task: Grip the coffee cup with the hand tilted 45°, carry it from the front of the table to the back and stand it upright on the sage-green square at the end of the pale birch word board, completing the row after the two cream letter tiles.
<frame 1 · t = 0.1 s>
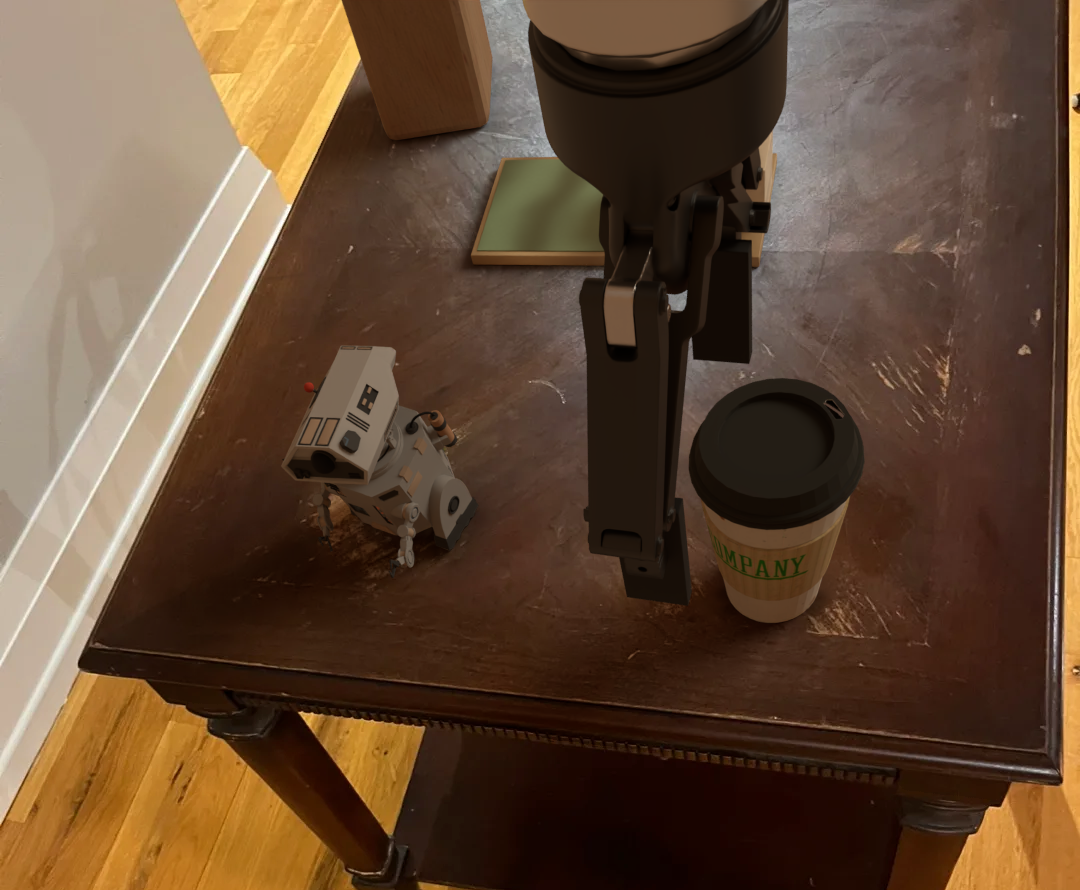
hand: (692, 469, 50), 24 cm above the table, tool pointing down, fingers open, 13 cm apart
word board: (624, 214, 92), on the table
coffee cup: (772, 585, 74), on the table
wooden block: (442, 105, 103), on the table
figurine: (403, 537, 81), on the table
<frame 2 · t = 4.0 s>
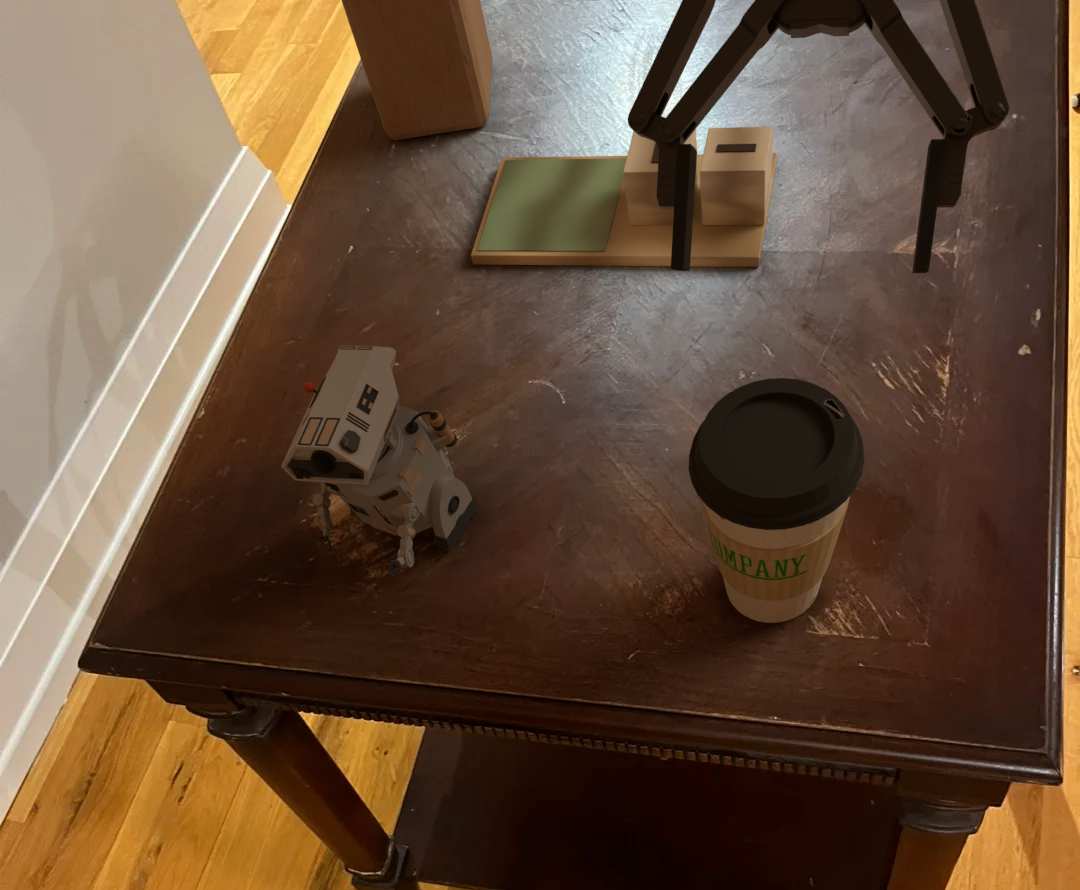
hand: (797, 272, 63), 17 cm above the table, tool tilted 45°, fingers open, 13 cm apart
nothing on the table moved.
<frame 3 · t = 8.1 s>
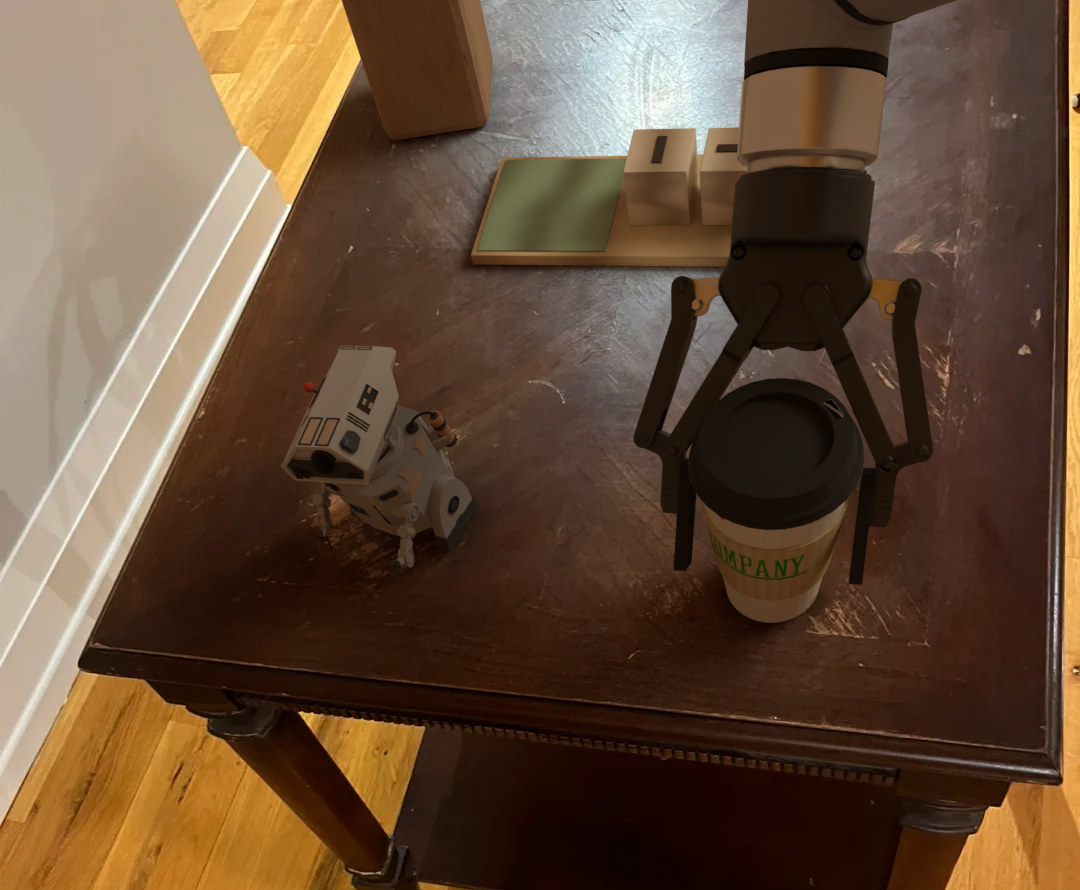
hand: (767, 572, 67), 6 cm above the table, tool tilted 45°, fingers closed on coffee cup, 10 cm apart
coffee cup: (772, 585, 74), on the table, touching gripper
everything else where it was.
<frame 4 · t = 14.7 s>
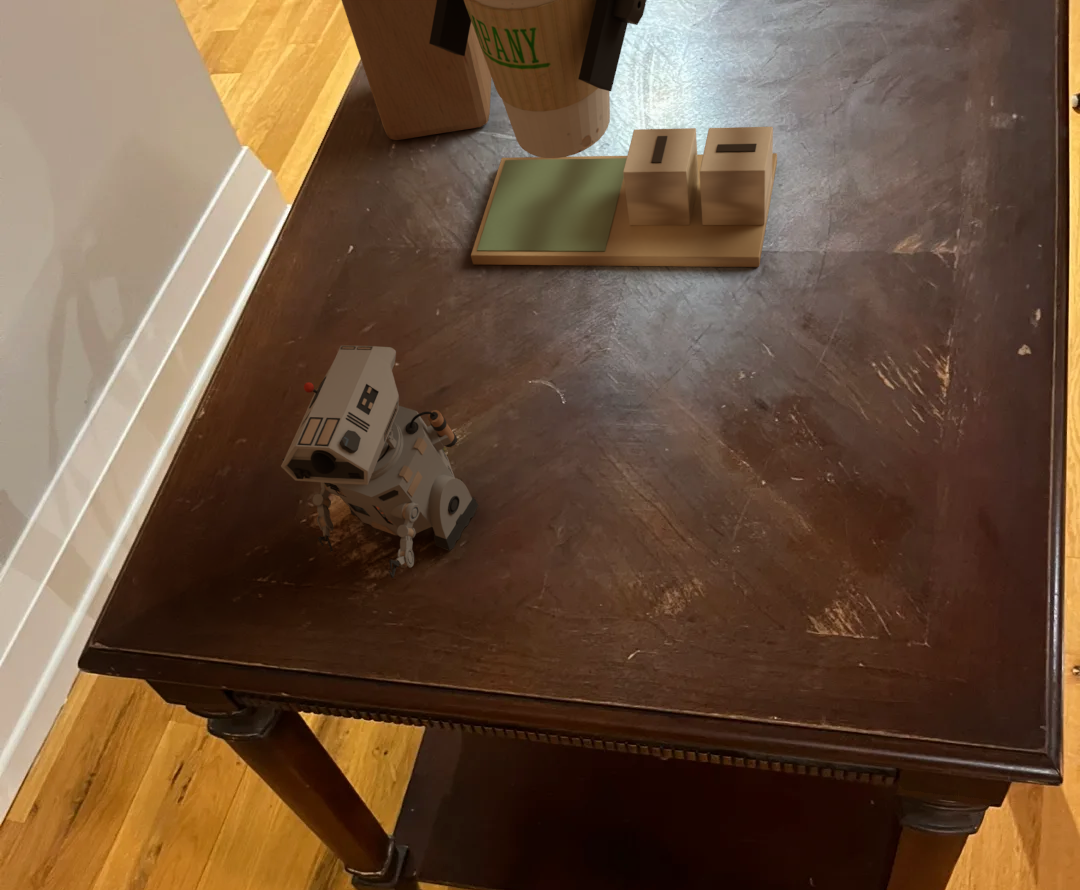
hand: (518, 67, 64), 24 cm above the table, tool tilted 45°, fingers closed on coffee cup, 10 cm apart
coffee cup: (562, 127, 70), point 18 cm above the table, touching gripper
everything else where it was.
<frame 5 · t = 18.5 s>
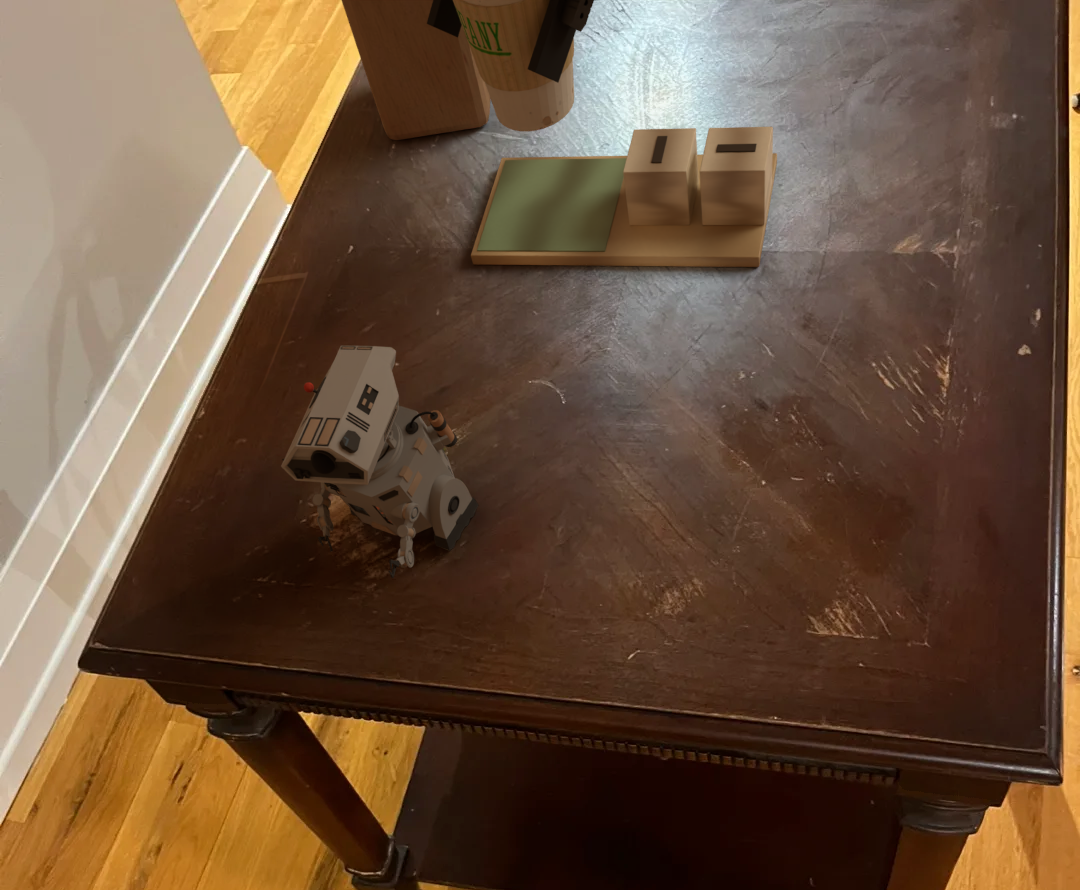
hand: (491, 52, 79), 16 cm above the table, tool tilted 45°, fingers closed on coffee cup, 10 cm apart
coffee cup: (535, 106, 85), point 10 cm above the table, touching gripper
everything else where it was.
when the fingers open (7 cm above the table, at t = 21.5 s): coffee cup stays where it is, resting on word board.
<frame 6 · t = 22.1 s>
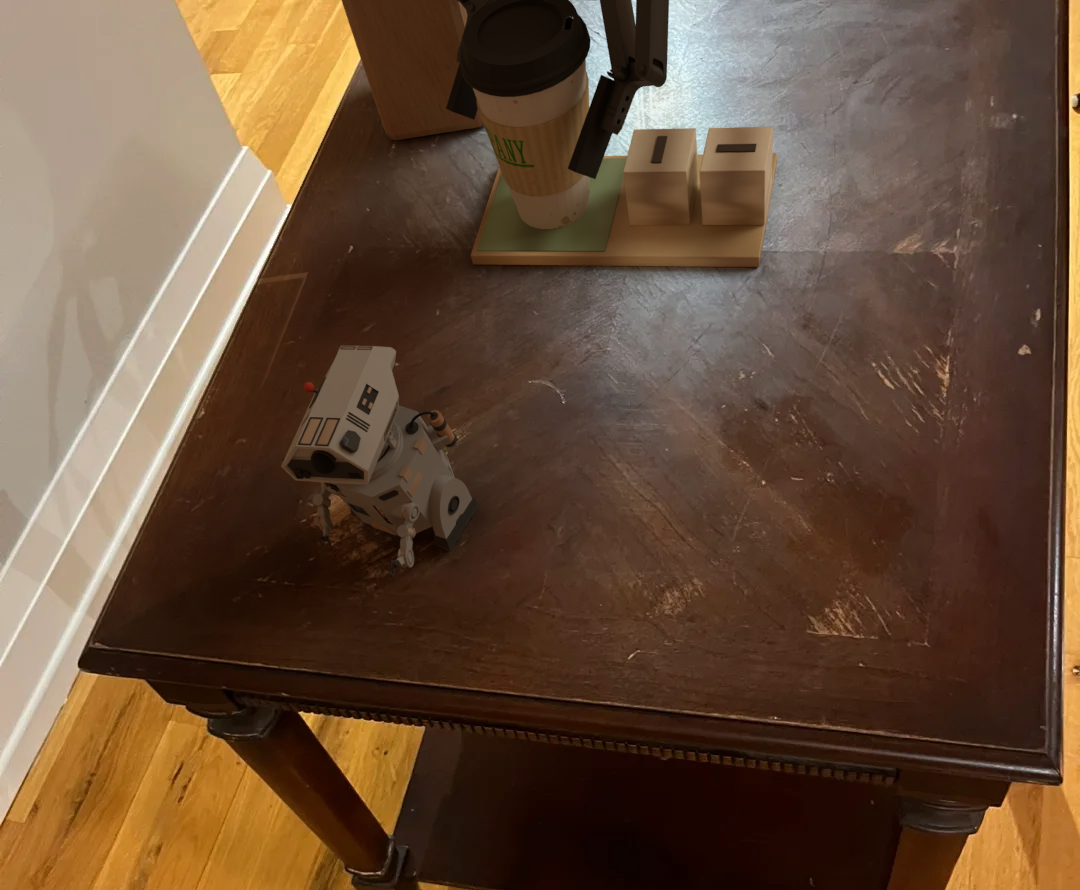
hand: (518, 143, 86), 8 cm above the table, tool tilted 45°, fingers open, 13 cm apart
coffee cup: (554, 205, 93), point 1 cm above the table, touching word board
everything else where it was.
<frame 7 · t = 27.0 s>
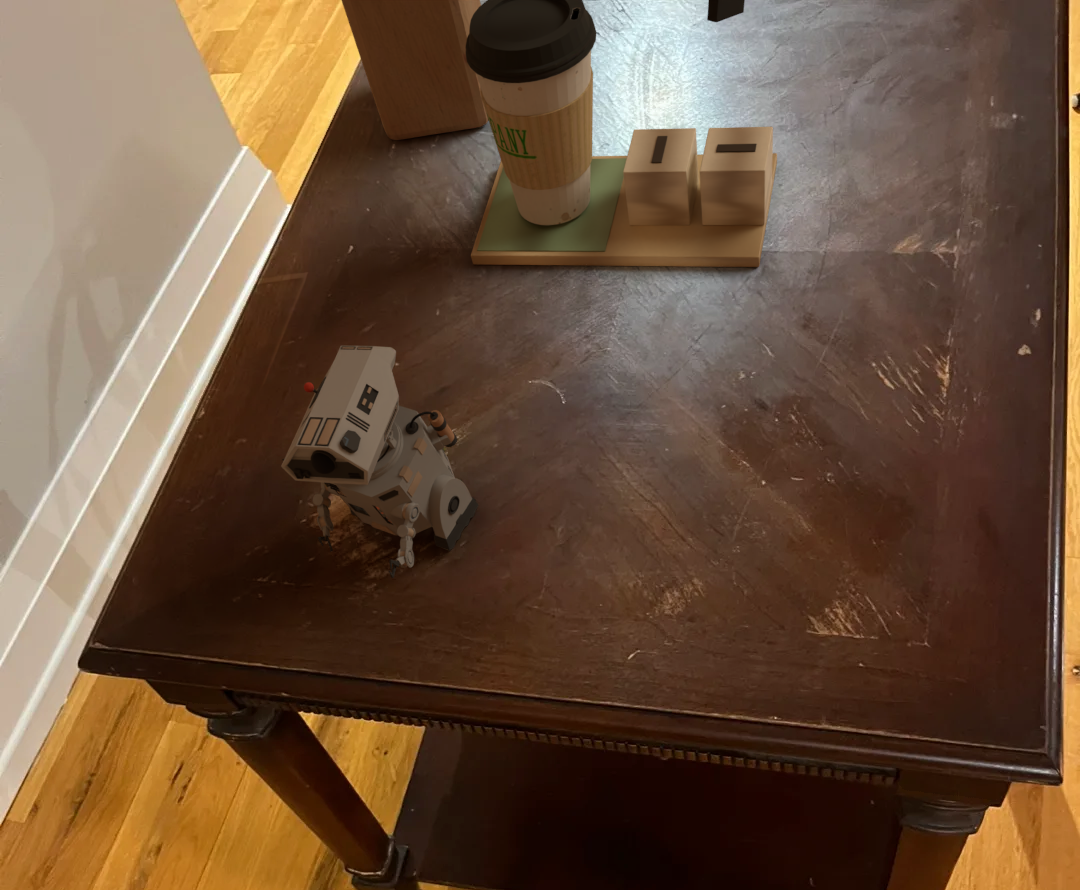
nothing on the table moved.
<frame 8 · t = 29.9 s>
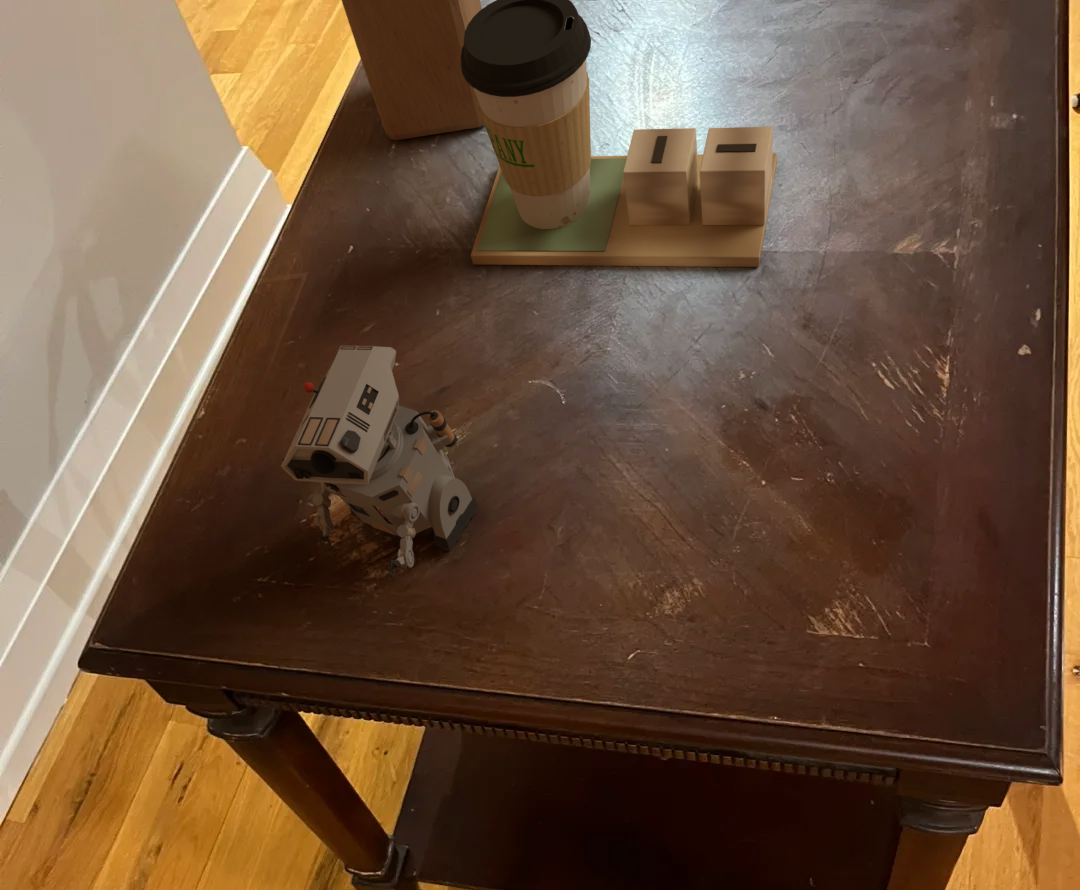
nothing on the table moved.
at the end: coffee cup 0.1 cm from the target spot on the word board, point 0.9 cm above the word board's base; coffee cup tilted 0°; the gripper is holding nothing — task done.
